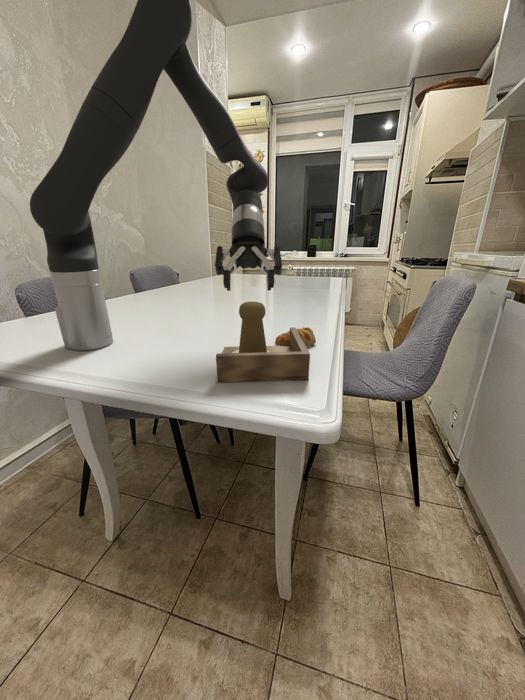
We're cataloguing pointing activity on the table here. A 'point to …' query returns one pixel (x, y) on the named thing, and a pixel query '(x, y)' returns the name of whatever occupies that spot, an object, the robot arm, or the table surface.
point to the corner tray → (265, 363)
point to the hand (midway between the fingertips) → (249, 288)
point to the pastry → (304, 333)
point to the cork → (252, 328)
